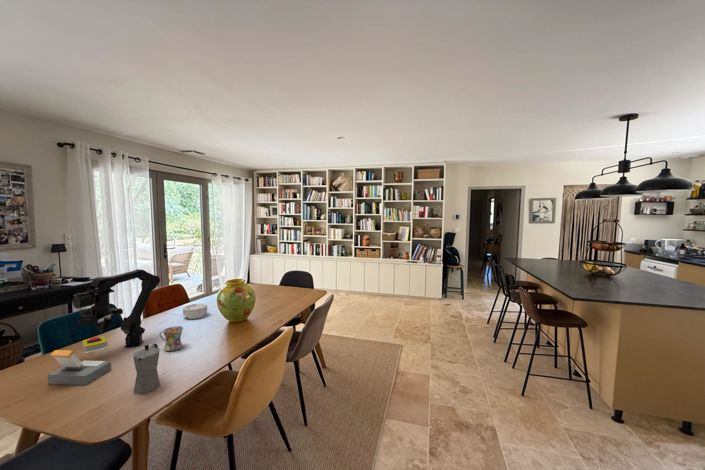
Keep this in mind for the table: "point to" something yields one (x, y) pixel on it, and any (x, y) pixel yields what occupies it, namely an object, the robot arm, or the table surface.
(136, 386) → the coffeepot
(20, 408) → the table surface
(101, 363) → the box
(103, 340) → the emergency button
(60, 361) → the handle
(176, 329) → the mug
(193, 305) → the paper bowls
